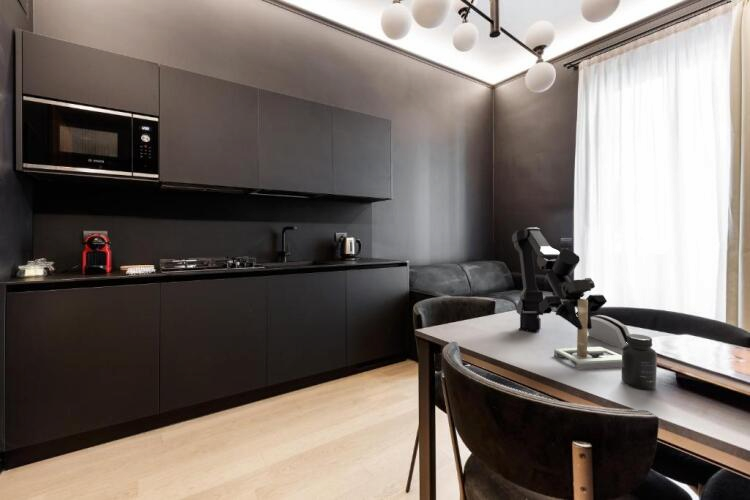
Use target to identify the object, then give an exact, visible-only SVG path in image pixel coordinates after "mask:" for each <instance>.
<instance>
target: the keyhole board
mask: <svg viewBox="0 0 750 500" xmlns="http://www.w3.org/2000/svg"><path fill="white" fill-rule="evenodd" d="M553 350H554V351H553V353H554V354H553V356H554V357H556V358H562V357H564V358H567V359H569V360H570V361H573V362H575V366H576V369H578V370H592V369H608V368H609V369H610V368H622V354H619V353H617V352H614V351H612V350H609V349H607V348H606V347H605V348H604V347H602V346H587V354H588V355H590V356H598V357H597V358H595V357H592V358H591V359H578V358H576V357H574V356H572V354H573V353H577V347H564V348H554V349H553ZM605 353H606V354H607V355H604V354H605Z"/></svg>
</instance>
